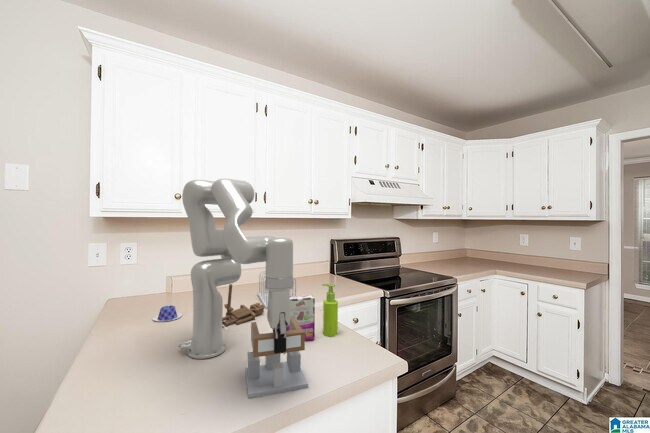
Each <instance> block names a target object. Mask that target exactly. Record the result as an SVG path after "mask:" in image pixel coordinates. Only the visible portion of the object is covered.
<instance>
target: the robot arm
mask: <svg viewBox="0 0 650 433" xmlns="http://www.w3.org/2000/svg"><path fill="white" fill-rule="evenodd" d="M181 196H182V204H183V207H184V210H185V214H186V216H187V219H188V223H189V224H188V225H189V234H190V239H191V248H192V251H193V253H194V255H195V256H197V257H200V258H201V257H202V258H207V257H216V256H217V257H218V256H220V258H217V259H214V258H213V259H206V260H202V261H199V262H197V263H195V264H194V265H193V266H192V268H191V270H190V280H191V286H192V301H193V303H192V308H193V311H192V312H193V314H192V315H193V316H192V318H193V319H192V320H193V321H192V337H191V338H189V339H188V340H179V341H178V348H181V350H185V349H187V355H188V357H190V358H191V359H196V360H198V359H199V360H202V359H203V360H204V359H210V358H214V357H217V356H219V355H221V354H223V353H224V352H225V351H226V350H227V343H226V342H225V341H224V340H223V328H222V318H223V295H221V292H220V291H219V290H218V289H217V288H218V287H221V286H225V285H229V284H234V283H237V282H238V281H239V280H240V278H241V276H242V265H251V264H256V263H257V264H258V263H264V262H265V271H266V272H265V273H266V274H265V275H266V277H265V279H266V289H267V293H268V309H266V310H267V312H266V315H267V316H266V319H267V323H268V325H269V327H270V329H272V333H273V332H275V338H274V353H275V354H276V353H282V354H284V353H283V352H286V327H288V326H289V324H290V295H291V294H290V289H291V290H292V288H293V289H294V285H293V278H294V242H293V239H291V238H287V237H275V236H271V235H264V236H261V235H260V236H245V235H244V233H243V232H242V230H241V229H240V227H241V226H242V225H244V224H245V223H247V222H248V221H249V220H251V218H252V215H253V213H254V212H253V211H254V210H253V208H252V206H251V203H253V201H254V198H255V190H254V187H253V186H252V185H251V184H250V183H249V182H248V181H245V180H238V179H234V178H233V179H231V178H220V179H216V180H215V181H214V180H205V179H193V180H189V181H188V182H186V183H185V185H184V186H183V190H182V195H181ZM206 205H215V206H218V207H219V209H220V211H221V212H222V214H223V216H224V218H225V220H226V221H225V223H224V227H223V229H217V227H216V223H215V217H214V215H213V213H212V212H211V210H210V209H209V208H208V207H207V206H206Z"/></svg>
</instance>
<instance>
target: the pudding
mask: <svg viewBox="0 0 650 433" xmlns="http://www.w3.org/2000/svg"><path fill="white" fill-rule="evenodd" d="M182 316H183V314H182V313H181V312H177V309H176V306H175V305H165V306H162V307H161V308H160V309H159V314H158V315H155V316H153V318H152V320H153V321H154V322H169V321H174V320H176V319H177V320H178V319H179V318H182Z"/></svg>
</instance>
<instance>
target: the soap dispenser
mask: <svg viewBox="0 0 650 433" xmlns="http://www.w3.org/2000/svg"><path fill="white" fill-rule="evenodd" d="M321 286H322V287H323V286H325V287H328V291H327V292H326V299H324V300H323V304H322V305H323V307H322V308H323V309H322V315H323V316H322V323H323V324H322V334H323V336H325V337H330V338H331V337H336V336H337V335H338V331H339V329H338V320H339V319H338V318H339V317H338V316H339V314H338V311H339V302H338V300H336V299H335V298H336V297H335V295H336V293H335V292H334V287H336V285H335V284H332V283H323V284H321Z"/></svg>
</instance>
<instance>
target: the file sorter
mask: <svg viewBox="0 0 650 433" xmlns="http://www.w3.org/2000/svg"><path fill="white" fill-rule="evenodd" d="M258 277H259V283H258V285H259V286H258V288H259V290H258V293H257V297H258V299H259V301H260V302H261V303H260V304H261V305H264V306H265V308H264V310H268V290H267V289H266V270H265V271H261V272H260V273H259V275H258ZM293 286H294V287H293V288H292V289H290V290H289V294H290V296H297V279H296V278H295V277H293ZM291 290H292V291H291Z"/></svg>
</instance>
